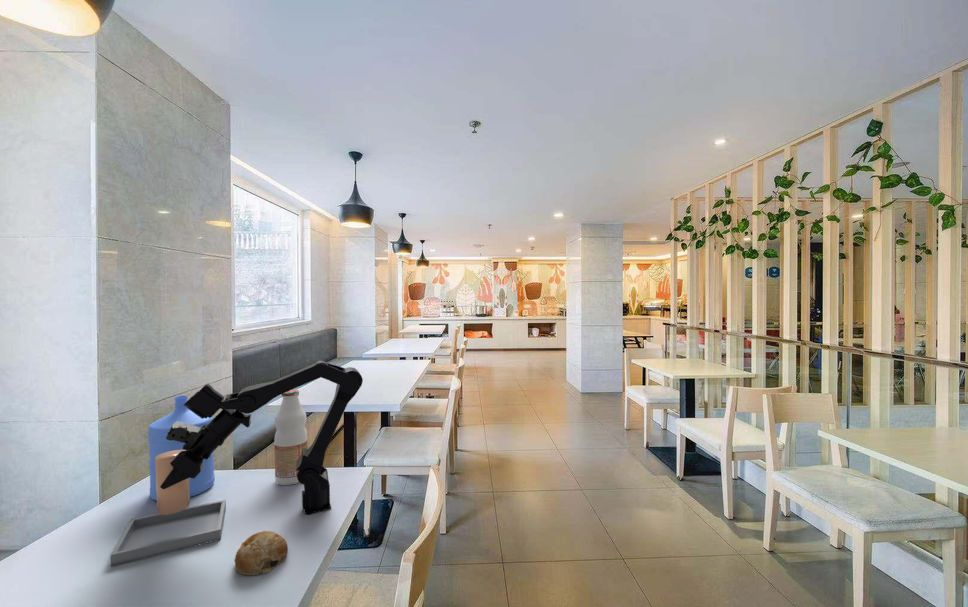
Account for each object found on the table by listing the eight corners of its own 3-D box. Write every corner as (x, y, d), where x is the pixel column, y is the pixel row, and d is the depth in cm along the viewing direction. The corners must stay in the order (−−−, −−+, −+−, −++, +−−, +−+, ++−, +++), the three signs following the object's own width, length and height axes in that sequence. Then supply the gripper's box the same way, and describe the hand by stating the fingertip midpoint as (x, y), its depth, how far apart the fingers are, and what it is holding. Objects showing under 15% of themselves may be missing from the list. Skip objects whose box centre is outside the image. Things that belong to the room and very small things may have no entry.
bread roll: (246, 598, 84) (254, 569, 82) (222, 561, 89) (229, 533, 87) (290, 570, 93) (299, 543, 91) (266, 538, 98) (274, 512, 96)
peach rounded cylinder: (195, 500, 103) (194, 449, 103) (179, 514, 97) (177, 459, 97) (168, 501, 103) (167, 450, 103) (150, 515, 97) (148, 460, 96)
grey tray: (225, 508, 112) (225, 499, 112) (220, 539, 98) (220, 529, 98) (131, 529, 103) (131, 519, 103) (111, 566, 89) (110, 555, 89)
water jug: (202, 499, 118) (199, 401, 117) (137, 506, 114) (134, 405, 113) (222, 475, 133) (220, 389, 132) (166, 481, 129) (164, 392, 128)
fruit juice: (282, 489, 124) (280, 396, 123) (270, 479, 130) (268, 391, 129) (313, 478, 130) (311, 390, 130) (300, 470, 137) (299, 386, 136)
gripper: (199, 401, 109) (148, 449, 105) (180, 421, 92) (119, 479, 88) (234, 426, 113) (187, 473, 109) (222, 449, 96) (166, 507, 92)
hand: (166, 482), depth 99 cm, fingers closed on peach rounded cylinder, 6 cm apart
